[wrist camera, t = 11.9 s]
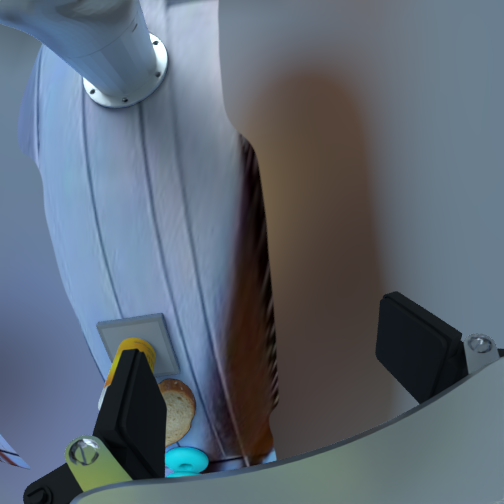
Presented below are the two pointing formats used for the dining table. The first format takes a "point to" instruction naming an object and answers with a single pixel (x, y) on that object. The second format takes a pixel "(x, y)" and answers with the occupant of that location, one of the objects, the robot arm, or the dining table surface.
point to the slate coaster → (145, 329)
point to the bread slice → (177, 409)
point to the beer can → (124, 345)
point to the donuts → (185, 461)
